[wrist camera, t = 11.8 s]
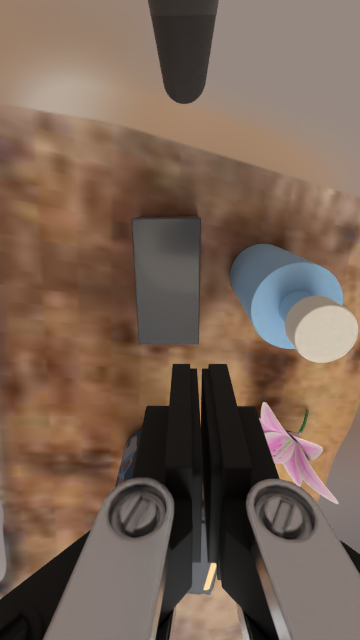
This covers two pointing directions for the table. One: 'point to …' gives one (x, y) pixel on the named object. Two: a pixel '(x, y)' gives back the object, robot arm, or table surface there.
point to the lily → (293, 452)
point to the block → (167, 278)
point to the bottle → (293, 302)
